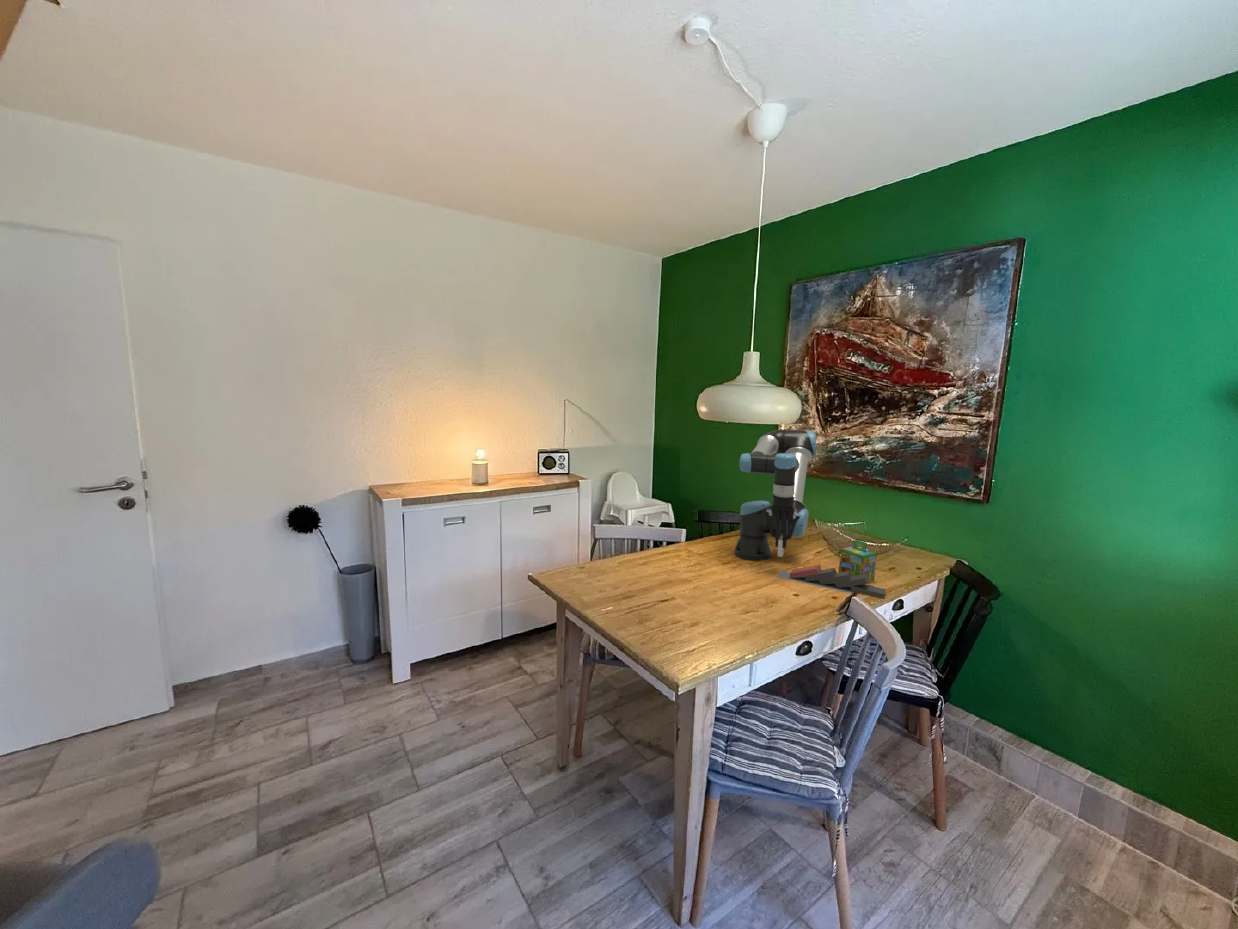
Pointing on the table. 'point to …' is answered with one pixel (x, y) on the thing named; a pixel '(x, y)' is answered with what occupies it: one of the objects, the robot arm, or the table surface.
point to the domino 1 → (805, 571)
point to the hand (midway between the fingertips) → (780, 555)
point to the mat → (813, 582)
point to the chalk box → (858, 560)
